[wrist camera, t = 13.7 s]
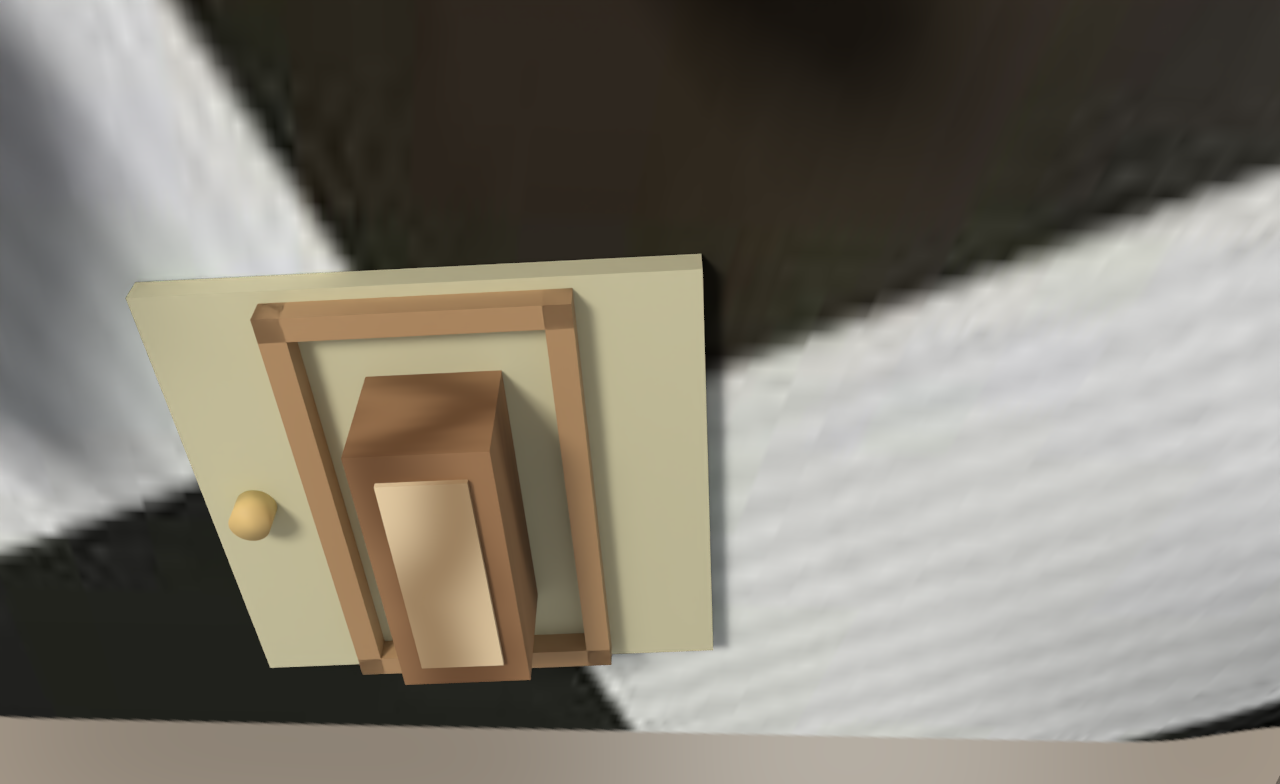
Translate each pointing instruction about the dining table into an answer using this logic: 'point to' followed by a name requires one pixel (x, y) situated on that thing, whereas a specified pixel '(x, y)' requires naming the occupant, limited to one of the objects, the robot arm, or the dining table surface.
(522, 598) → the wooden block
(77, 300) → the dining table surface
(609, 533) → the mount board
